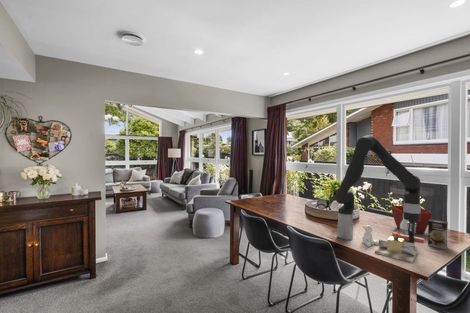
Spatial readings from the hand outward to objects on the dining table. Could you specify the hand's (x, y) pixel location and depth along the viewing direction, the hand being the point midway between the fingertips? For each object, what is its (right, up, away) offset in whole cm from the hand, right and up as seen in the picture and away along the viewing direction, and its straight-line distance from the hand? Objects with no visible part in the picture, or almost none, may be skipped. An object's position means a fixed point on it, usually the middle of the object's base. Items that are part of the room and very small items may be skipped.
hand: (411, 242), depth 128 cm
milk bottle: (+13, -10, +21) cm, 26 cm away
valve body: (-3, -8, +8) cm, 12 cm away
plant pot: (+36, -9, +49) cm, 61 cm away
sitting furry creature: (-10, -10, +23) cm, 27 cm away
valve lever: (+1, -1, +4) cm, 4 cm away
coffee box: (+31, -10, +18) cm, 37 cm away
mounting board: (-3, -10, +8) cm, 13 cm away
